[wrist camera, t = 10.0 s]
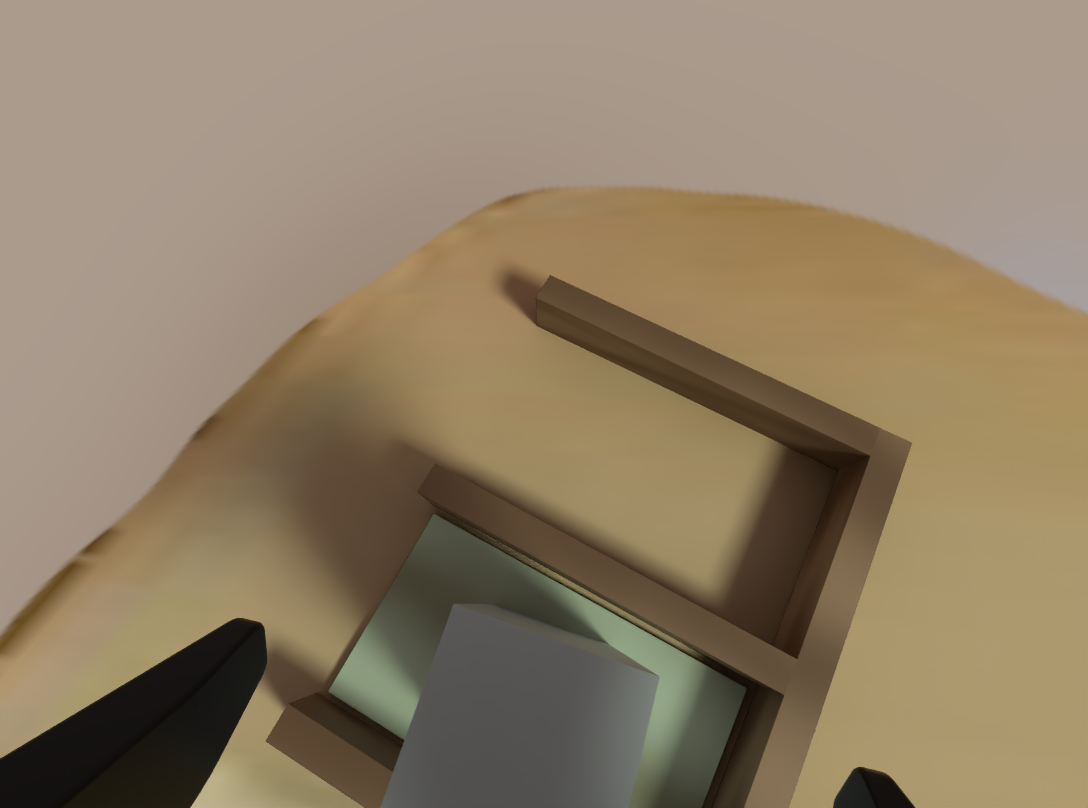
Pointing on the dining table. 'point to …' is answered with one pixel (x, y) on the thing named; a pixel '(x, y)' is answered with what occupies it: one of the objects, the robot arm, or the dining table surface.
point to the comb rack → (628, 594)
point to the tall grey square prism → (523, 719)
